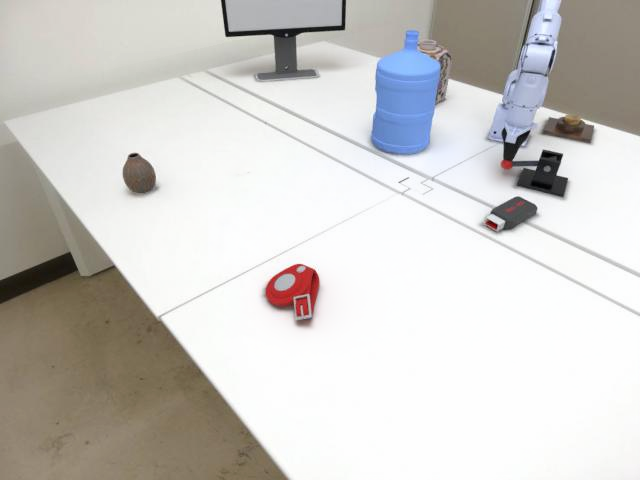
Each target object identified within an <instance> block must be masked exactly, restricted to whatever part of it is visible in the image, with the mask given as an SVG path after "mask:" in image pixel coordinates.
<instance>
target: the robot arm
mask: <svg viewBox="0 0 640 480" xmlns="http://www.w3.org/2000/svg"><path fill="white" fill-rule="evenodd" d="M561 4H562V0H539V4H538V8H537V11H536V14H534V16H533V17H532V19H531V21H530V26H529V28H528V29H529V30H528V33H527V37H526V41H525V44H524V45H523V46H522V48H521V51H520V56H519V59H518V62H517V63H518V64H517V68H516V69H514V70H512V71H511V72H510V73H509V74H508V77H507V80H506V83H505V87H504V91H503V95H502V99H501V102H500V103H498V104H497V106H496V109H495V112H494V115H493V118H492V122H491V126H490V131H489V135H488V137H487V138H488V140H491V141H495V142H499V143H503V152H502V160H503V159H505V160H510V161H514V159H515V158H516V156H517V153H518V152H519V150H520V147H523V148H524V147H525V146H526V144H527V142H528V140H529V138H530V135H531V134H530V133H531V131H532V130H534V131H537V129H538V126H539V124H538V123H536V122H534V121H535V117H536V113H537V110H539V109H540V108H542V106H543V104H544V101H545V98H546V94H547V91H548V85H549V76H550V74H551V72H552V70H553V68H554V64H555V60H556V59H557V53H558V43H559V42H558V37H559V33H560V29H561V26H562V21H563V18H562V16H561V14H560V13H558V12H559V9H560V6H561ZM547 71H548V72H547Z"/></svg>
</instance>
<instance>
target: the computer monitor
mask: <svg viewBox="0 0 640 480" xmlns="http://www.w3.org/2000/svg"><path fill="white" fill-rule="evenodd" d="M220 3H221V5H220V6H221V12H222V21H223V29H224V35H225V37H226V38H238V37H251V36H252V37H254V36H255V37H256V36H273V48H274V62H275V63H274V64H275V65H274V66H275V71H262V72H257V73H256V74H255V78H256V81H257V82H261V83H262V82H275V81H277V82H278V81H290V80H303V79H315V78H319V74H318V71H317V70H316V69H313V68H305V69H298V55H297V53H298V52H297V36H299V35H301V34H305V33H322V32H323V33H324V32H339V31H341V32H342V31H345V30H346V16H347V15H346V14H347V0H220Z"/></svg>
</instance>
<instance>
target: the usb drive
mask: <svg viewBox="0 0 640 480" xmlns="http://www.w3.org/2000/svg"><path fill="white" fill-rule="evenodd" d="M537 212H538V206H537V205H536V204H535V203H533V202H531V201H530V200H527V199H525V198H524V197H521V196H519V195H518V196H517V195H516V196H514V197H511V198H510V199H509V200H507V201H505V202H503V203H501V204H499V205H497V206H496V207H494V208H492V209H491V211H490V214H489V215H487V216H485V218H484V222H483V224H484V226H486V227H488V228H489V229H491V230H493V231H495V232H497V233H498V232H499V231H502V230H504V231H508V230H512V229H514V228H515V227H517V226H518V225H520V224H522V223H523V222H526V221H527V220H528V219H531V218H532V217H533V216H536V214H537Z"/></svg>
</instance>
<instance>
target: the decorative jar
mask: <svg viewBox="0 0 640 480" xmlns="http://www.w3.org/2000/svg"><path fill="white" fill-rule="evenodd" d="M417 49H418V51H420V52H422V53H423V54H425V55H427V56H429V57H431V58H433V59H435V60H436V61H438V62H439V64H440V66H441V69H440V79H439V84H438V88H437V94H436V100H435V105H437V104H439V103H440V102H442V101H444V100H445V99H446V96H447V91H448V85H449V79H450V74H451V67H452V61H453V57H452V55H451V54H450V51H449V50H448V49H447V48H446V47H444V46H442V45H439V44H437V41H436V40H433V39H422V40H420V43H418V44H417Z"/></svg>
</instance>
